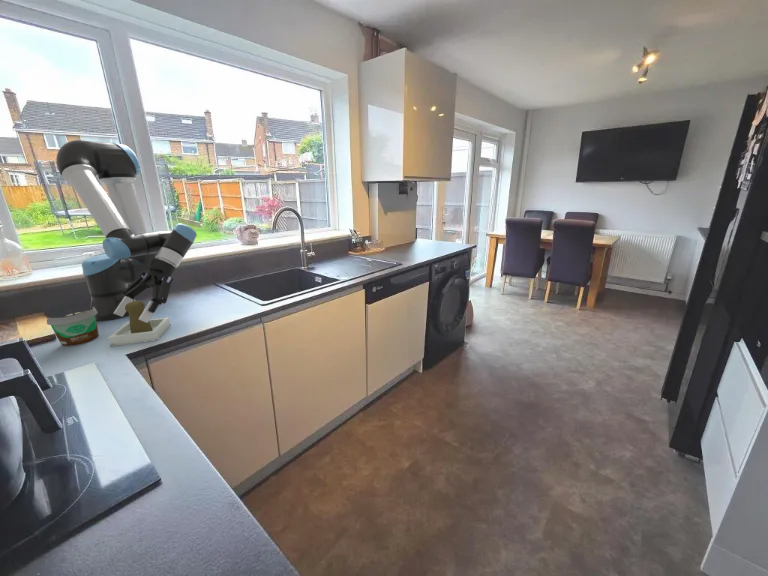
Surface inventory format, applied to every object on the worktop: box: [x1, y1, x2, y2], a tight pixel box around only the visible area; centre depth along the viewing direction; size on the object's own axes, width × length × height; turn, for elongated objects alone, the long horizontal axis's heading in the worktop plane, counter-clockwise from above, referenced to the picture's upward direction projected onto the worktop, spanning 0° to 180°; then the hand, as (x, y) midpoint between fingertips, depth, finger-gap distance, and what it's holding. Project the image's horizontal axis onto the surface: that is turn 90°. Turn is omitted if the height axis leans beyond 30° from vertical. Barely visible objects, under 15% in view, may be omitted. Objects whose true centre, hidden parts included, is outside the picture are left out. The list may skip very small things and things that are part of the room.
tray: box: [107, 317, 172, 347], centre depth 109 cm, size 13×13×3 cm
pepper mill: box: [125, 300, 153, 334], centre depth 108 cm, size 6×6×11 cm
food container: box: [46, 307, 100, 347], centre depth 104 cm, size 12×6×10 cm, turn 148°
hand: (130, 318), depth 106 cm, fingers open, 13 cm apart
